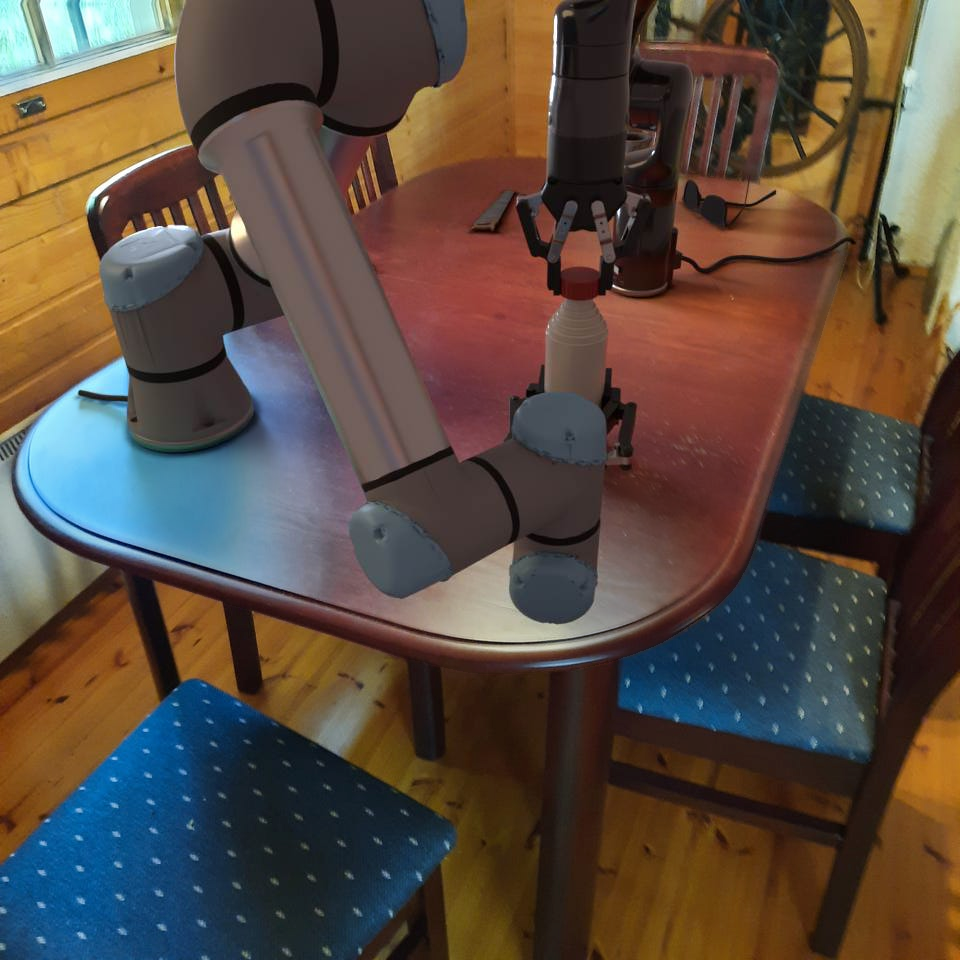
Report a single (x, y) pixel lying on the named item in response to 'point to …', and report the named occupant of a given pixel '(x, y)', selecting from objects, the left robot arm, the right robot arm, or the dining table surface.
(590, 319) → the bottle
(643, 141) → the pipe
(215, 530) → the dining table surface
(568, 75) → the right robot arm
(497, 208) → the grey flat bar
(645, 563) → the dining table surface
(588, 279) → the cap
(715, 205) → the sunglasses
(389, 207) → the dining table surface
